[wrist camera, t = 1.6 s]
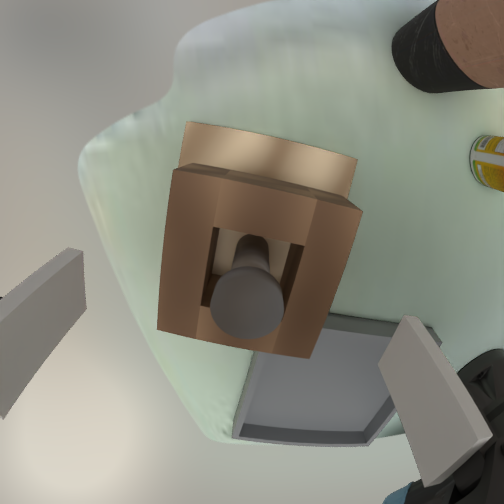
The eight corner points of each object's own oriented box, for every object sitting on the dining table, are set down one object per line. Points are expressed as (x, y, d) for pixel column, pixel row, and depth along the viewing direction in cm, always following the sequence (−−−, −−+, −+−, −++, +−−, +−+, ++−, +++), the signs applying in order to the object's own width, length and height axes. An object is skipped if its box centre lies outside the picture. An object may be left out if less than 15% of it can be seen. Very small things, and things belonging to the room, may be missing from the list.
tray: (431, 327, 30) (442, 342, 27) (364, 431, 37) (368, 446, 34) (268, 301, 29) (268, 318, 26) (233, 421, 36) (231, 438, 33)
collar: (342, 195, 17) (362, 211, 13) (302, 321, 20) (309, 359, 17) (192, 162, 17) (173, 169, 13) (174, 295, 20) (157, 329, 16)
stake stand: (352, 158, 24) (452, 187, 10) (310, 300, 29) (340, 425, 15) (190, 122, 23) (102, 106, 9) (168, 271, 28) (101, 380, 14)
